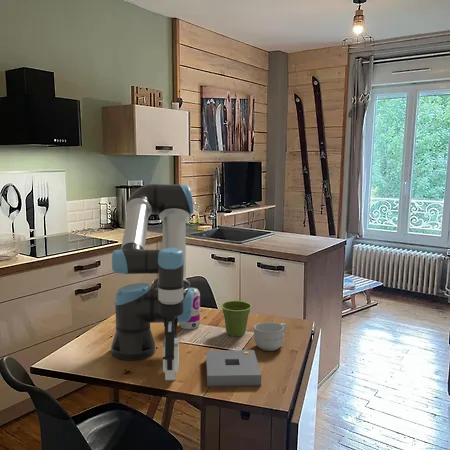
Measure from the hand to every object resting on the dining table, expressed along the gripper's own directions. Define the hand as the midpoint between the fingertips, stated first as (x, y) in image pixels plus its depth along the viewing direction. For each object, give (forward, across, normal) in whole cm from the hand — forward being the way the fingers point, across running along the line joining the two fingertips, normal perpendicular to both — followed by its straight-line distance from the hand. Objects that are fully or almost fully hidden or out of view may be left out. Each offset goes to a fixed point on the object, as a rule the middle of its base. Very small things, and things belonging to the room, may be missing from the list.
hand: (170, 370), depth 141 cm
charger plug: (+3, 0, 0) cm, 3 cm away
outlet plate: (+3, +3, -19) cm, 19 cm away
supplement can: (+3, +44, -5) cm, 44 cm away
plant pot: (+3, +36, -23) cm, 43 cm away
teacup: (+3, +23, -35) cm, 42 cm away
